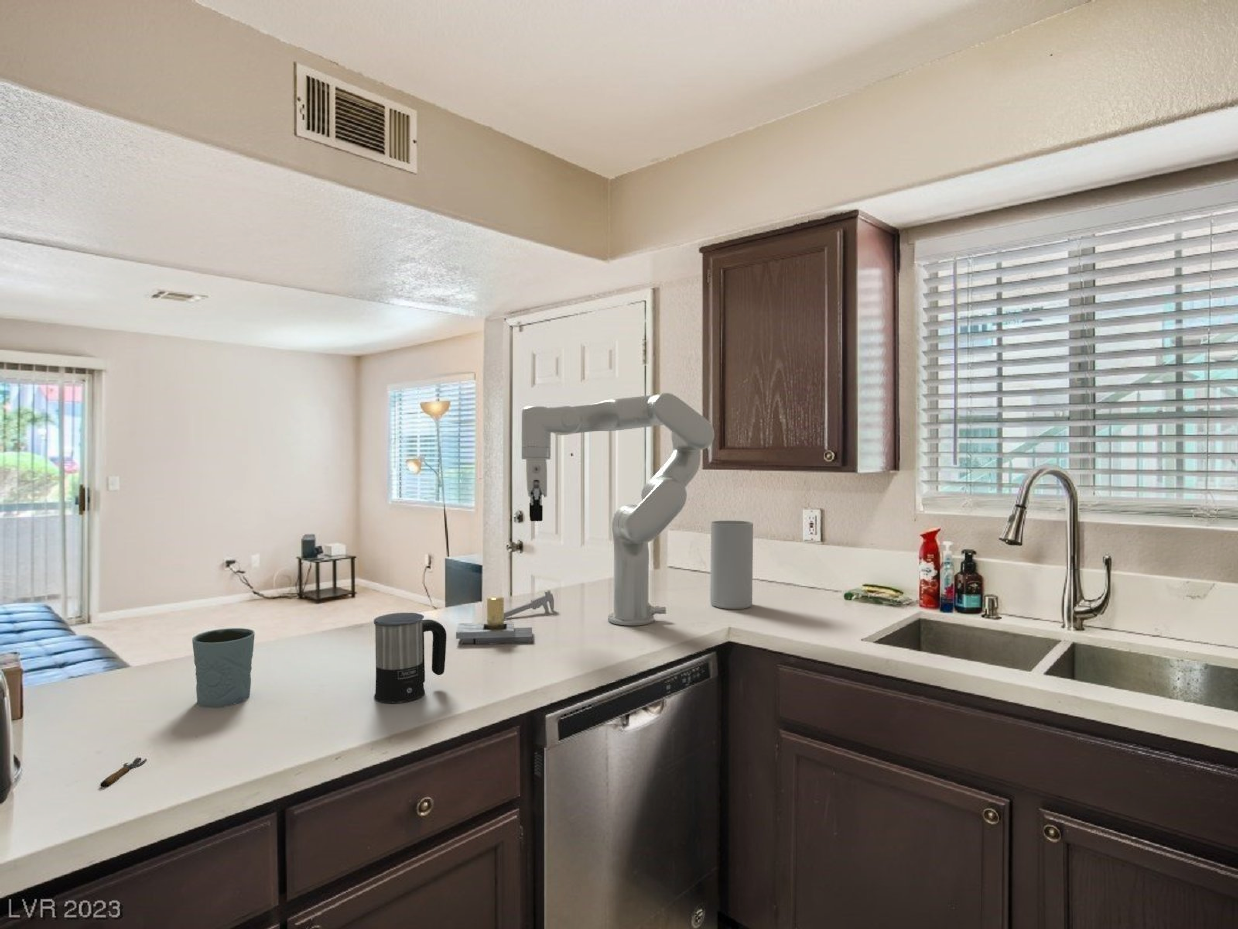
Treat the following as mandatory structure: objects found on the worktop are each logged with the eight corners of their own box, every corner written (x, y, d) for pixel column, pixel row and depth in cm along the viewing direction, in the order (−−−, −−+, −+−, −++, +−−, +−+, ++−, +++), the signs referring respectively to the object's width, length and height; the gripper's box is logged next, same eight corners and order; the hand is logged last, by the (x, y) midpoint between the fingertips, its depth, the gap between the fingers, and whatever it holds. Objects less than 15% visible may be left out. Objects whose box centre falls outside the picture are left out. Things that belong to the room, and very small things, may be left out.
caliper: (551, 610, 207) (551, 589, 207) (554, 611, 207) (554, 590, 206) (490, 621, 194) (490, 598, 194) (492, 622, 193) (492, 599, 193)
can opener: (107, 789, 97) (107, 781, 97) (90, 789, 98) (90, 781, 98) (152, 761, 106) (152, 753, 106) (136, 761, 107) (136, 753, 107)
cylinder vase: (755, 610, 209) (756, 524, 208) (712, 609, 209) (713, 524, 208) (748, 601, 221) (749, 520, 221) (708, 600, 221) (708, 520, 221)
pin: (503, 636, 177) (503, 596, 177) (503, 641, 173) (503, 599, 173) (487, 637, 177) (487, 596, 177) (486, 641, 173) (486, 600, 173)
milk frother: (395, 708, 128) (395, 626, 128) (340, 691, 137) (340, 614, 136) (453, 686, 140) (454, 611, 140) (399, 672, 149) (399, 601, 148)
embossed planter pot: (241, 686, 139) (240, 625, 139) (264, 698, 133) (264, 634, 132) (183, 700, 131) (183, 635, 131) (205, 713, 125) (205, 645, 125)
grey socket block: (531, 633, 181) (531, 621, 181) (532, 642, 172) (532, 630, 172) (459, 635, 178) (459, 623, 178) (456, 645, 169) (456, 632, 169)
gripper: (551, 454, 178) (551, 522, 179) (549, 453, 195) (548, 516, 196) (521, 453, 177) (521, 522, 178) (521, 453, 194) (521, 516, 195)
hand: (535, 519), depth 187 cm, fingers open, 9 cm apart
